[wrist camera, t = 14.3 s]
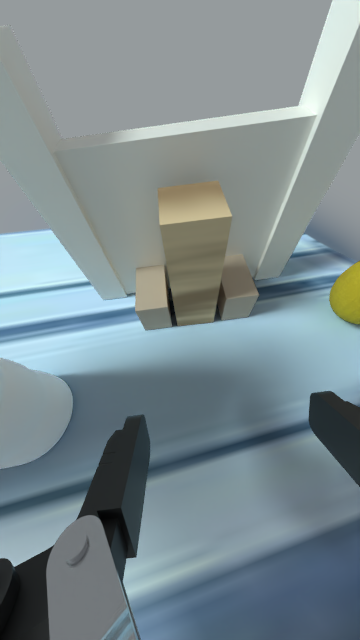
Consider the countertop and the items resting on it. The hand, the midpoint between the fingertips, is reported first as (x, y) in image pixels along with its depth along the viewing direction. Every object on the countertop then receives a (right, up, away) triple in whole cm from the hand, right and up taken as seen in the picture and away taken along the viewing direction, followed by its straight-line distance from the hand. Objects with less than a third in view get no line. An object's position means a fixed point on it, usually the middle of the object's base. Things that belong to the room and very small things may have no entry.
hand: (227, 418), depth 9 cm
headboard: (-1, +8, +14) cm, 16 cm away
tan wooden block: (-1, +6, +13) cm, 14 cm away
